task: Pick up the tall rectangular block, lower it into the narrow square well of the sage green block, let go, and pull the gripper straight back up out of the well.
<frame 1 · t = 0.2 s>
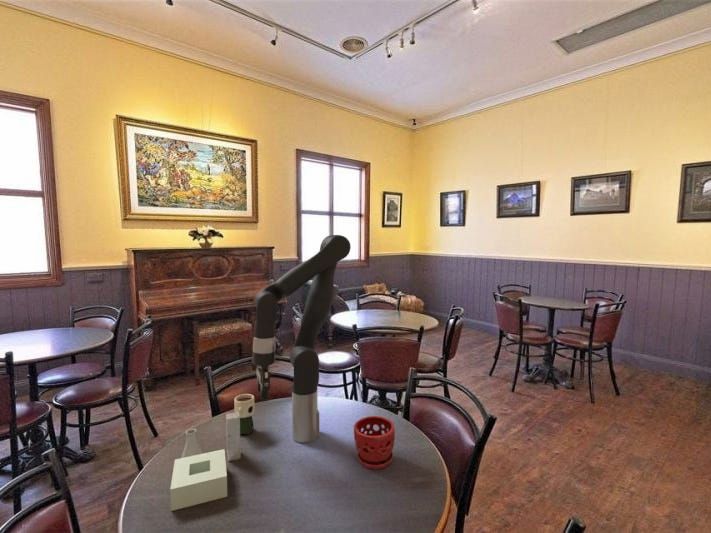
hand: (262, 395, 123), 18 cm above the table, tool pointing down, fingers open, 8 cm apart
character mug: (245, 431, 134), on the table
rectangular block: (233, 456, 118), on the table
well block: (200, 487, 103), on the table
flask: (192, 461, 116), on the table
plant pot: (374, 461, 116), on the table
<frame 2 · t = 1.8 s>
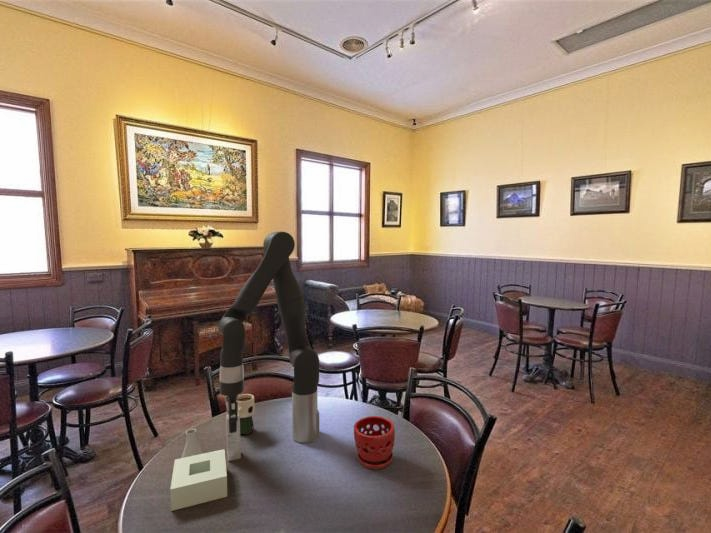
hand: (232, 425, 117), 11 cm above the table, tool pointing down, fingers open, 8 cm apart
nothing on the table moved.
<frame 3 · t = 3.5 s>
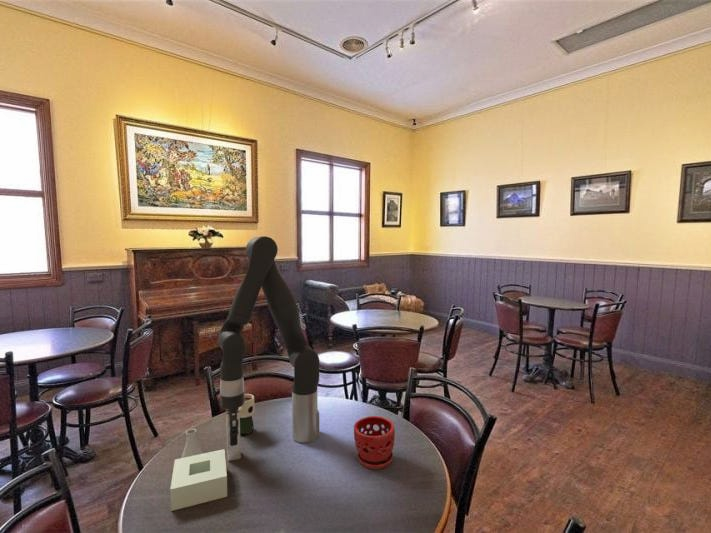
hand: (233, 441, 118), 5 cm above the table, tool pointing down, fingers closed on rectangular block, 4 cm apart
rectangular block: (233, 456, 118), on the table, touching gripper
everything else where it was.
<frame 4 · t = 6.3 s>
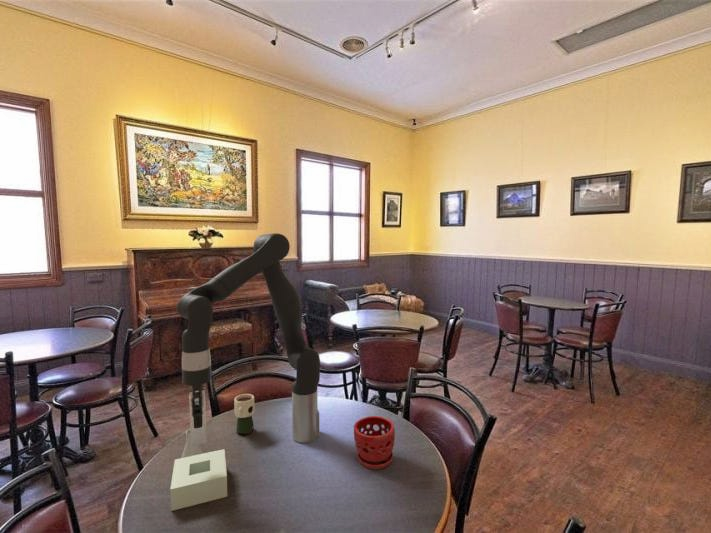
hand: (198, 423, 102), 19 cm above the table, tool pointing down, fingers closed on rectangular block, 4 cm apart
rectangular block: (198, 441, 102), point 14 cm above the table, touching gripper
everything else where it was.
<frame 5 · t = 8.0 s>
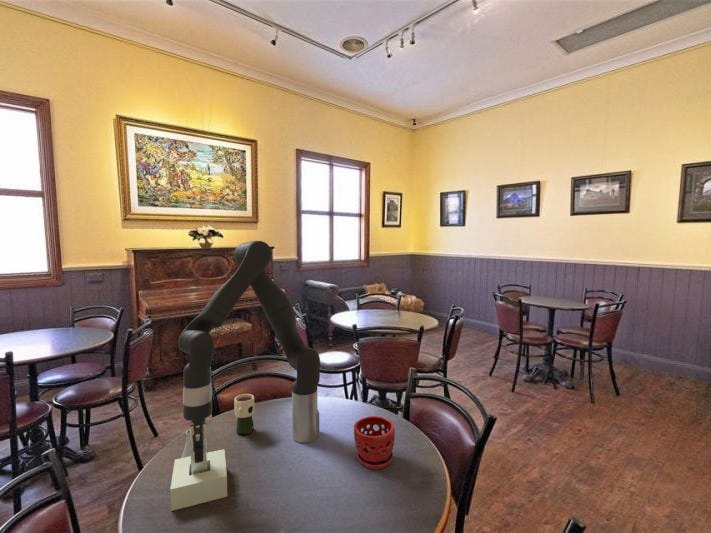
hand: (199, 456, 103), 9 cm above the table, tool pointing down, fingers closed on rectangular block, 4 cm apart
rectangular block: (199, 474, 103), point 4 cm above the table, touching gripper
everything else where it was.
when the fingers open (8 cm above the table, at t = 9.3 s): rectangular block drops 3 cm, resting in well block.
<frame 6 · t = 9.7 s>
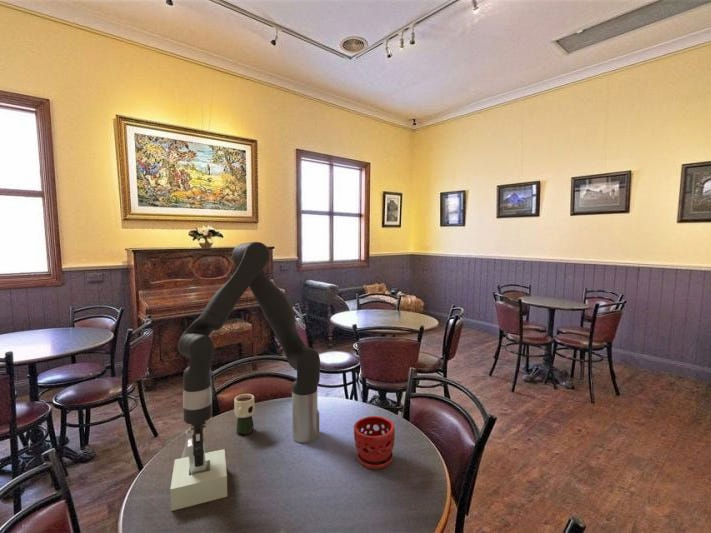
hand: (199, 457, 103), 9 cm above the table, tool pointing down, fingers open, 7 cm apart
rectangular block: (200, 486, 103), resting in well block
everything else where it was.
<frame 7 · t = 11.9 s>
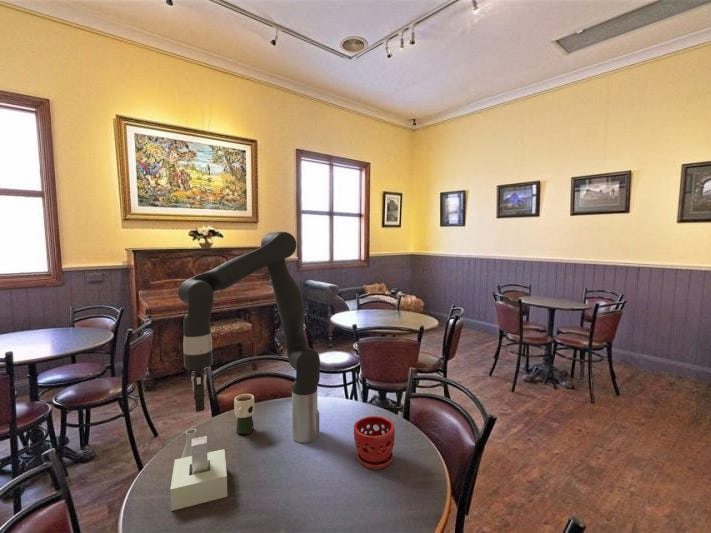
hand: (200, 404, 103), 24 cm above the table, tool pointing down, fingers open, 8 cm apart
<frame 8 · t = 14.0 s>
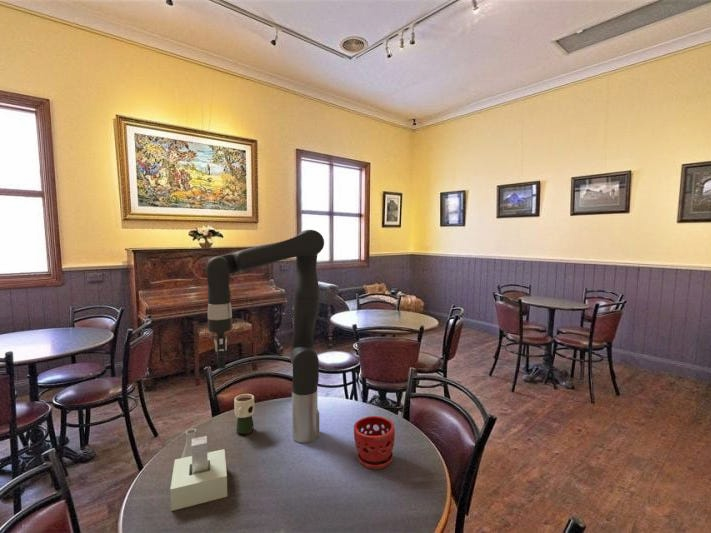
hand: (221, 364, 120), 30 cm above the table, tool pointing down, fingers open, 8 cm apart
nothing on the table moved.
at the end: rectangular block 0.1 cm off-centre on the well block, point 0.0 cm above the well block's base; rectangular block tilted 0°; the gripper is holding nothing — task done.
